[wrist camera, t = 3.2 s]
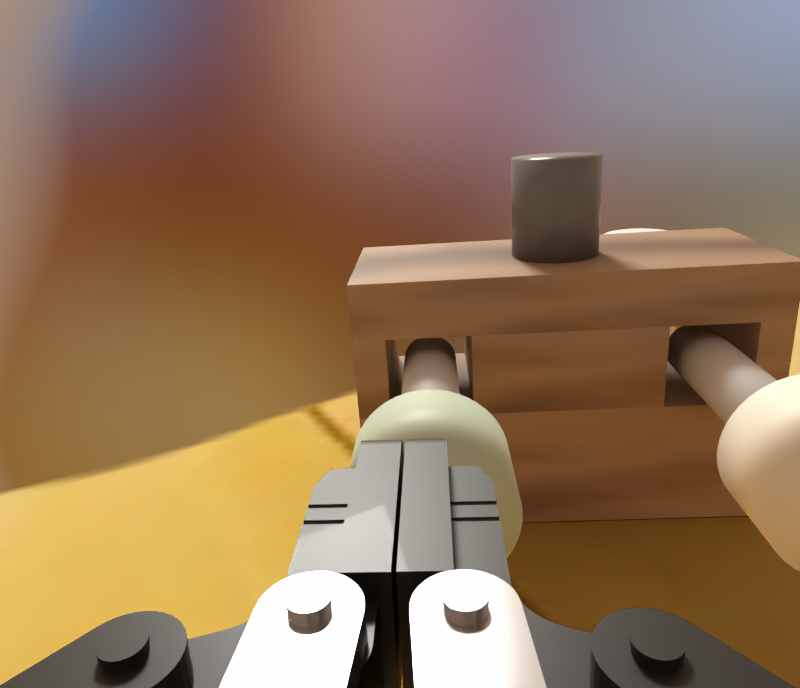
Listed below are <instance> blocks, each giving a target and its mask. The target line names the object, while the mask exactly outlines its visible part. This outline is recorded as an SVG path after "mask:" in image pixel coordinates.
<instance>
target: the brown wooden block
mask: <svg viewBox="0 0 800 688" xmlns="http://www.w3.org/2000/svg"><path fill="white" fill-rule="evenodd" d="M347 290H348V301H349V311H350V322H351V332H352V342H353V353H354V364H355V375H356V384H357V396H358V406H359V417H360V427H362V426H363V424H364V423H365V421H366V420H367V419H368V417H369V416H370V415H371V414H372V413H373V412H374V411H375V410H376V409H377V408H378V407H380V406H381V405H382V404H384V403H385V402H387V401H389V400H391V399H393V398H394V397H396V396H399V395H401V393H402V382H403V371H404V360H405V356H398V345H397V340H398V339H419V338H440V337H460V336H464V341H465V353H459V354H455V355H456V364H457V373H458V382H459V392H460V395H463V396H465V397H468V398H470V399H472V400H473V401H475V402H477V403H478V404H480V405H481V406H482V407H484V408H485V409H486V410H487V411H488V412H489V413H490V414H491V415H492V416H493V417H494V418H495V419H496V421H497V422H498V423H499V425H500V427H501V428H502V430H503V432H504V435H505V437H506V440H507V444H508V448H509V452H510V456H511V461H512V465H513V469H514V473H515V478H516V482H517V486H518V490H519V495H520V499H521V503H522V512H523V520H522V522H553V521H586V520H619V519H652V518H685V517H718V516H747V514H746V513H745V512H744V510H743V509H742V508H741V507H740V505H739V504H738V503H737V501H736V500H735V499H734V498H733V496H732V495H731V494H730V492H729V491H728V490H727V488H726V487H725V485H724V483H723V481H722V479H721V477H720V474H719V471H718V465H717V448H718V443H719V439H720V436H721V433H722V431H723V429H724V427H725V425H726V424H725V423H724V422H723V420H722V419H721V418H720V417H719V416H718V415H717V414H716V413H715V412H714V411H713V410H712V409H711V408H710V406H709V405H708V404H707V403H706V402H705V401H704V400H703V399H702V398H701V397H700V396H699V395H698V394H697V393H696V391H695V390H694V389H693V388H692V387H691V386H690V385H689V384H688V383H687V382H686V381H685V380H684V379H683V377H682V376H681V375H680V374H679V373H678V372H677V371H676V370H675V369H674V368H673V367H672V366H671V365H670V363H669V362H668V348H669V336H670V327H672V326H693V325H707V326H709V327H711V328H712V329H713V330H714V331H716V332H717V333H718V334H719V335H721V336H722V337H723V338H724V339H726V340H727V341H728V342H729V343H731V344H732V345H733V346H735V347H736V348H737V349H738V350H740V351H741V352H742V353H743V354H745V355H746V356H747V357H748V358H750V359H751V360H752V361H753V362H755V363H756V364H757V365H759V366H760V367H761V368H762V369H764V370H765V371H766V372H767V373H769V374H770V375H771V376H772V377H774V378H775V379H776V380H780V379H783V378H786V377H788V375H789V369H790V362H791V355H792V349H793V342H794V335H795V329H796V322H797V315H798V309H799V302H800V259H799V258H797V257H794V256H792V255H789V254H787V253H784V252H782V251H780V250H777V249H775V248H773V247H770V246H768V245H765V244H763V243H761V242H758V241H756V240H753V239H751V238H749V237H746V236H744V235H741V234H739V233H737V232H734V231H732V230H729V229H727V228H707V229H691V230H672V231H654V232H636V233H618V234H600V236H599V254H598V256H596V257H595V258H592V259H589V260H585V261H579V262H572V263H533V262H526V261H521V260H518V259H516V258H514V257H513V256H512V239H511V240H495V241H476V242H458V243H439V244H423V245H405V246H386V247H368V248H364V249H363V251H362V253H361V255H360V258H359V260H358V262H357V264H356V267H355V269H354V271H353V273H352V275H351V278H350V280H349V282H348V284H347Z"/></svg>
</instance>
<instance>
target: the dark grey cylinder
mask: <svg viewBox="0 0 800 688" xmlns="http://www.w3.org/2000/svg"><path fill="white" fill-rule="evenodd" d="M602 160H603V154H601V153H592V152H564V153H546V154H534V155H524V156H518V157H513V158H512V159H511V200H512V201H511V202H512V206H511V207H512V256H513V257H514V258H516V259H518V260H521V261H526V262H533V263H572V262H579V261H585V260H589V259H592V258H595V257H596V256H598V254H599V236H600V211H601V187H602V186H601V185H602V162H603V161H602Z"/></svg>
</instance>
